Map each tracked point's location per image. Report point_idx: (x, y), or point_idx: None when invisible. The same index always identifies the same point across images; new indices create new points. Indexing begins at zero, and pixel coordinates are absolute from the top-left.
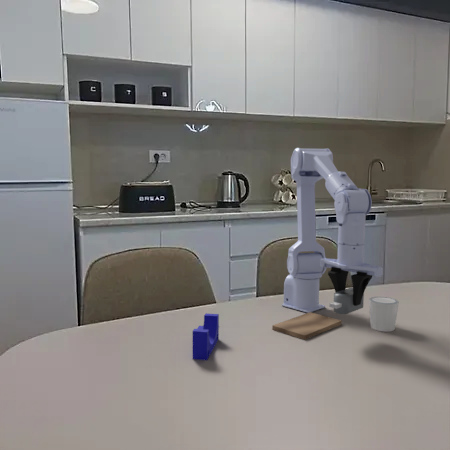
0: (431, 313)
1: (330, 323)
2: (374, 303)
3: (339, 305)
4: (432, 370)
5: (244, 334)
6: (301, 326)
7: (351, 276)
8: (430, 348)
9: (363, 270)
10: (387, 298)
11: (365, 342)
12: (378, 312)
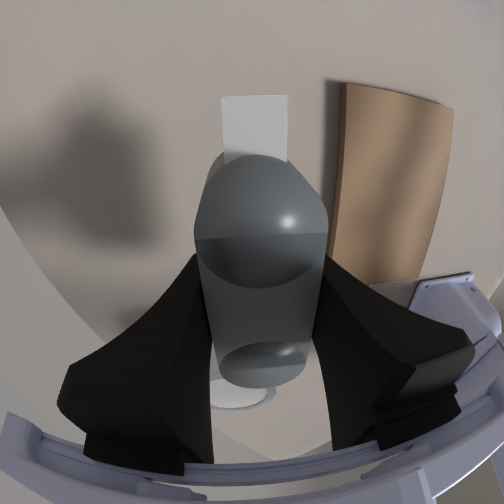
0: (218, 415)
1: (342, 245)
2: None
3: (223, 134)
4: (8, 191)
5: (461, 37)
6: (398, 156)
7: (155, 400)
8: (83, 294)
9: (128, 483)
10: (237, 405)
11: (187, 212)
12: None
